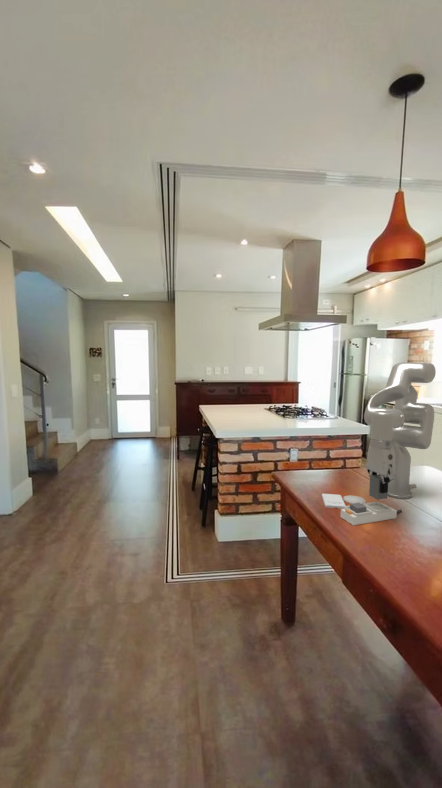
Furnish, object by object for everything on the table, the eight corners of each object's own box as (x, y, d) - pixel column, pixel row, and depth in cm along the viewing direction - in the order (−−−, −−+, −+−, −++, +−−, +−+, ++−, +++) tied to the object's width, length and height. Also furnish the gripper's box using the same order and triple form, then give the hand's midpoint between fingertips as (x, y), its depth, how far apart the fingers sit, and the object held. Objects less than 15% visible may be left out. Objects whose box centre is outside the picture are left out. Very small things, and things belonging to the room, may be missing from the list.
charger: (378, 493, 132) (379, 473, 131) (387, 498, 128) (388, 477, 127) (369, 495, 131) (370, 474, 130) (377, 499, 127) (378, 478, 126)
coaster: (355, 495, 150) (355, 494, 150) (370, 503, 142) (370, 502, 142) (338, 497, 147) (338, 496, 147) (352, 505, 139) (352, 505, 139)
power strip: (394, 508, 137) (394, 495, 136) (408, 516, 130) (409, 502, 130) (340, 516, 129) (341, 503, 128) (352, 525, 122) (353, 511, 122)
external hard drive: (340, 498, 148) (346, 510, 136) (321, 496, 150) (325, 508, 137) (340, 494, 148) (346, 506, 136) (321, 493, 150) (325, 504, 137)
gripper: (407, 448, 120) (404, 497, 122) (372, 437, 136) (370, 481, 138) (390, 450, 118) (387, 500, 120) (357, 439, 134) (355, 483, 136)
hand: (378, 489), depth 129 cm, fingers closed on charger, 4 cm apart
